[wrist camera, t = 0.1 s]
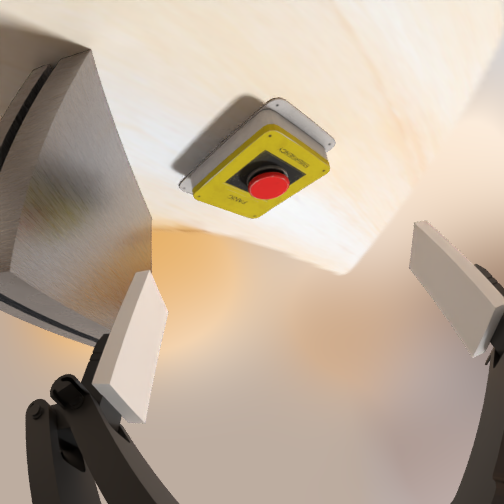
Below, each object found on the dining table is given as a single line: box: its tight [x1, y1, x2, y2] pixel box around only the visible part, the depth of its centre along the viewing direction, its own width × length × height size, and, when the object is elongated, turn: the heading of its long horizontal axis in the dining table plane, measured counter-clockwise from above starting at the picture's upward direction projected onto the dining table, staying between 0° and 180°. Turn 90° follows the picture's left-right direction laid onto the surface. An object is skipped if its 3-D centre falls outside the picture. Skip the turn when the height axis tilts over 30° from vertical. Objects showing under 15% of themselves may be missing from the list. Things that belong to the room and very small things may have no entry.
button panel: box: [0, 50, 152, 347], centre depth 21 cm, size 23×5×16 cm, turn 177°
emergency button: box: [180, 98, 336, 219], centre depth 29 cm, size 9×4×15 cm
